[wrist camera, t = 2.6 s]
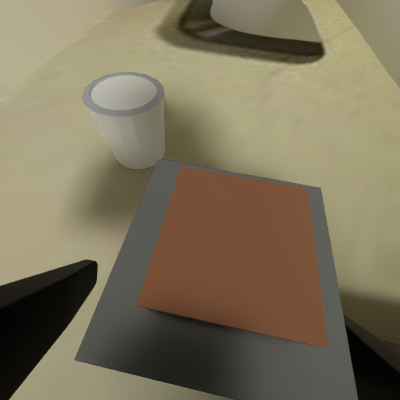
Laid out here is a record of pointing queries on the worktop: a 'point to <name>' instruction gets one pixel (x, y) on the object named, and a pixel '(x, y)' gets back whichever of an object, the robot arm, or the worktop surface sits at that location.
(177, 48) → the worktop surface
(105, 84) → the shot glass
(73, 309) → the robot arm
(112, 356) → the engine block
